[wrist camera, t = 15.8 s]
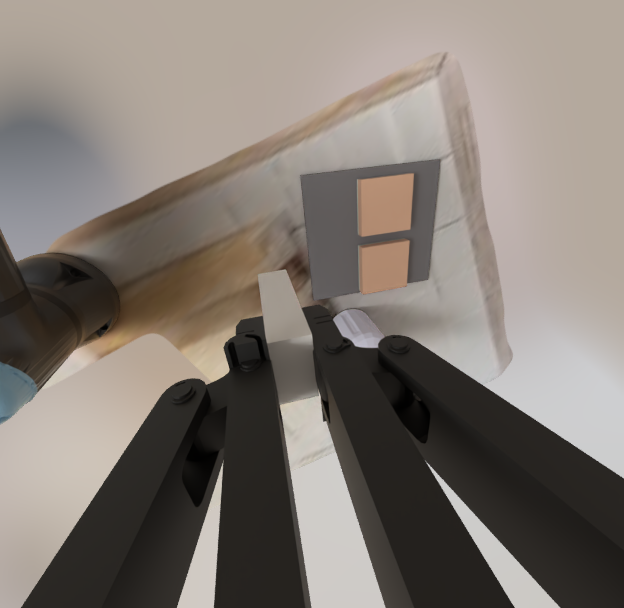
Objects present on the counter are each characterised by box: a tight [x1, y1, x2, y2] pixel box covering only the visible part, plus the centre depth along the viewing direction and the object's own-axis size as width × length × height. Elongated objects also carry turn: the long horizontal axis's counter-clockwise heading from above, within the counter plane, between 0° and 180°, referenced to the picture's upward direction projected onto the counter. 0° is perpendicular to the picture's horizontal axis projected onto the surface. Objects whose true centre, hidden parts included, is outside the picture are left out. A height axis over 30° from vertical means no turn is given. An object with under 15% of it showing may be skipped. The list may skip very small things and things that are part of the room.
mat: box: [300, 159, 440, 300], centre depth 51 cm, size 24×22×1 cm
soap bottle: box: [333, 309, 385, 348], centre depth 49 cm, size 9×9×25 cm
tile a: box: [357, 173, 414, 237], centre depth 48 cm, size 2×9×9 cm
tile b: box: [358, 238, 410, 294], centre depth 53 cm, size 2×9×9 cm
